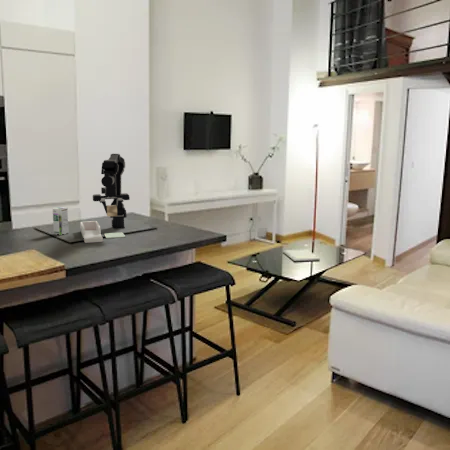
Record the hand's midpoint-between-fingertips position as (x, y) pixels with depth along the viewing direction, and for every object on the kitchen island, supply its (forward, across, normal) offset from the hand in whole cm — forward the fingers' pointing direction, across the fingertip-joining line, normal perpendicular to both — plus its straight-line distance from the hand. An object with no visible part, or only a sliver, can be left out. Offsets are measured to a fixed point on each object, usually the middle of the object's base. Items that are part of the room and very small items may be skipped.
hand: (111, 213), depth 250 cm
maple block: (+1, 0, +1) cm, 1 cm away
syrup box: (+13, +26, -13) cm, 32 cm away
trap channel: (+13, +11, -3) cm, 17 cm away
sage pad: (+13, -1, 0) cm, 13 cm away
